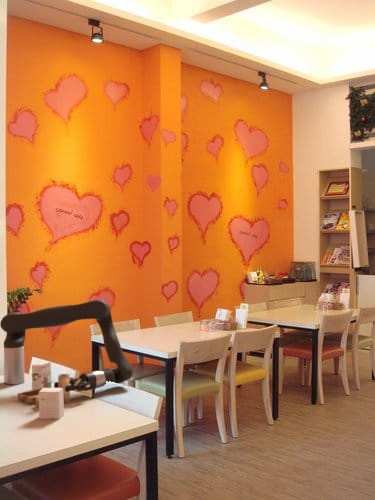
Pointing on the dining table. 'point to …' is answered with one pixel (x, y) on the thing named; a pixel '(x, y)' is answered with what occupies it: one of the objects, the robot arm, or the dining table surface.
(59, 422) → the dining table surface
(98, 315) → the robot arm
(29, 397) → the tray
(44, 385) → the stand
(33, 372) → the ink box
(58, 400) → the small box
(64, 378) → the tan hollow cylinder
